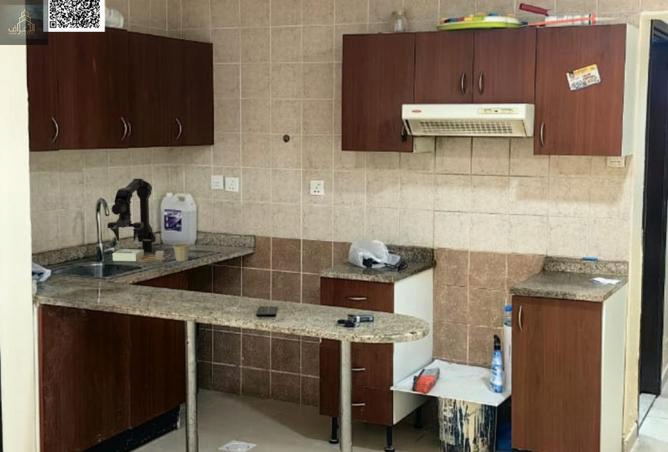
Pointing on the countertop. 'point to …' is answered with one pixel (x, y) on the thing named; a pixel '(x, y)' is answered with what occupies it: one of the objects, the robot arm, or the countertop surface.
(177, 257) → the flower pot
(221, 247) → the countertop surface
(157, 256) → the pebble
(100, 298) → the countertop surface
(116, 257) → the bin
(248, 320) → the countertop surface
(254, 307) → the countertop surface
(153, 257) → the tray
